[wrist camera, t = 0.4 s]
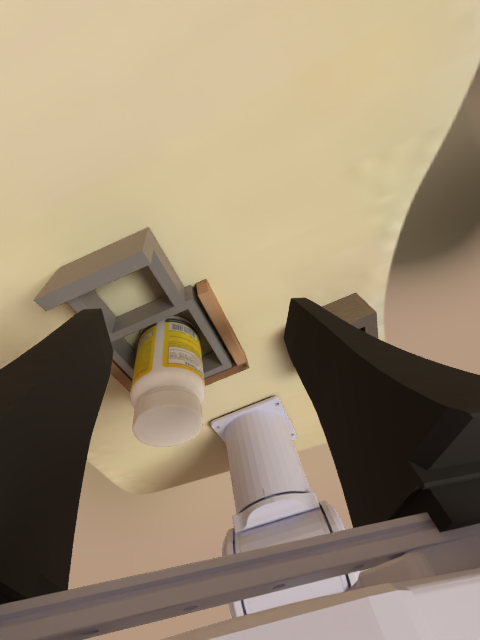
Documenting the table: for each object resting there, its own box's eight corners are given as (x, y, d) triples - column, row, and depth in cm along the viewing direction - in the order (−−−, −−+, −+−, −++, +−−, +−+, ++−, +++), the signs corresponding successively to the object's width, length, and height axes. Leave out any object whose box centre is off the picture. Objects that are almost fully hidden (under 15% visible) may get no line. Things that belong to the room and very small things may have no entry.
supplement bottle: (150, 363, 24) (139, 458, 17) (131, 320, 21) (109, 413, 14) (204, 352, 24) (215, 440, 18) (193, 308, 21) (200, 393, 15)
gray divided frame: (228, 351, 24) (236, 385, 21) (154, 381, 25) (150, 419, 22) (156, 223, 17) (151, 246, 14) (52, 270, 18) (25, 303, 15)
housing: (245, 353, 25) (249, 367, 24) (149, 393, 26) (147, 409, 24) (206, 278, 20) (208, 290, 19) (88, 330, 21) (81, 345, 19)
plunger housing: (361, 337, 27) (379, 358, 24) (307, 359, 27) (320, 382, 25) (356, 292, 23) (376, 312, 21) (294, 318, 24) (308, 340, 21)
